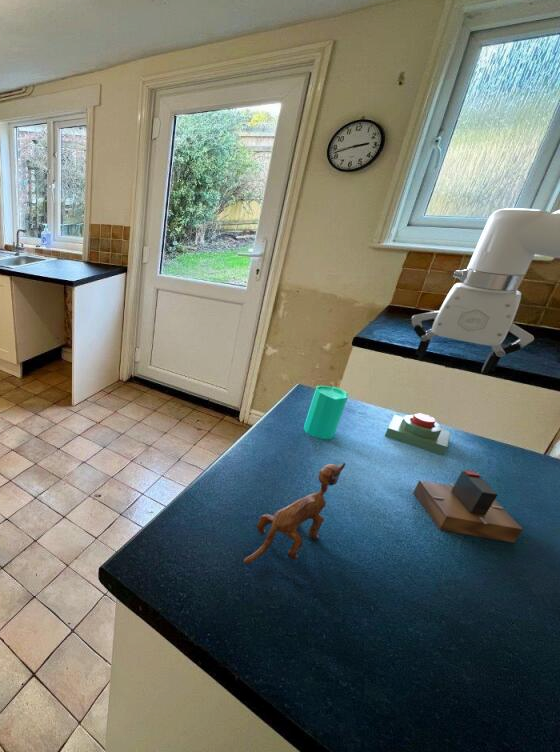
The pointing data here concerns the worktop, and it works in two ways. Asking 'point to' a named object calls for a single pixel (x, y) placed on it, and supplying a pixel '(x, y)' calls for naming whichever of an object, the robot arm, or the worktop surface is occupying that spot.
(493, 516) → the panel
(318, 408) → the candle
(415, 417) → the button
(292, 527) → the cat figurine
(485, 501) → the dark grey block
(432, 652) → the worktop surface
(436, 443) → the button box
